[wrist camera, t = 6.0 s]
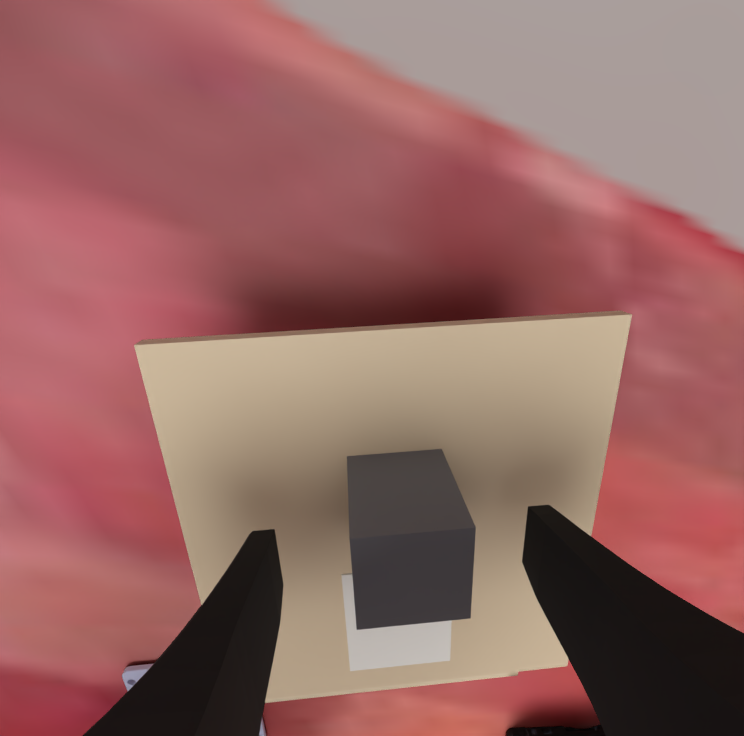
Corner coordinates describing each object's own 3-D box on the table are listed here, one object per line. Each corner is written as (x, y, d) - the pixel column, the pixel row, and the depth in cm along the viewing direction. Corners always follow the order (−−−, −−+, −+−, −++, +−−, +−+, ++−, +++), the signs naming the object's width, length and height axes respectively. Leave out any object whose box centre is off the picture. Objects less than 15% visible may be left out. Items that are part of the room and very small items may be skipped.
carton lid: (560, 654, 18) (620, 771, 14) (229, 690, 17) (199, 824, 13) (620, 310, 12) (742, 353, 9) (142, 339, 12) (50, 399, 8)
